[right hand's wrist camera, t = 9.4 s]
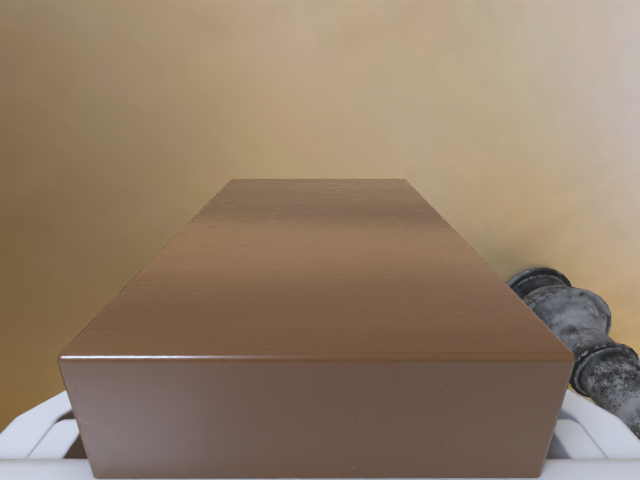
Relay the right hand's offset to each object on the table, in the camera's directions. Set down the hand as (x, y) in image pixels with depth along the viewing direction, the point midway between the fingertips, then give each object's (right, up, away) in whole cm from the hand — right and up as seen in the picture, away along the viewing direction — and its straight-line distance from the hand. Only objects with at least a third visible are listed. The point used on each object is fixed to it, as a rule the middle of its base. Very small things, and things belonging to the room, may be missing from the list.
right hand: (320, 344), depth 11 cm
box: (0, -5, +7) cm, 8 cm away
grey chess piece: (+15, -1, +17) cm, 23 cm away
